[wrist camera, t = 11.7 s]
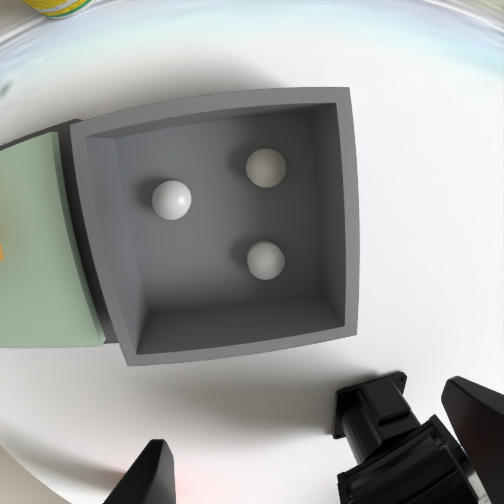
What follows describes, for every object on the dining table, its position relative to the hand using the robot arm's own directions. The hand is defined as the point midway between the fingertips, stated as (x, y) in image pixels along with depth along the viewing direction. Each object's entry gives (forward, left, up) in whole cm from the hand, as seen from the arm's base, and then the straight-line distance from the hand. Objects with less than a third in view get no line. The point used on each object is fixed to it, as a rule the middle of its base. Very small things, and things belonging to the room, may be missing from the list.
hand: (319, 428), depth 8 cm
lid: (+4, +16, -10) cm, 20 cm away
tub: (+4, +2, -12) cm, 13 cm away
